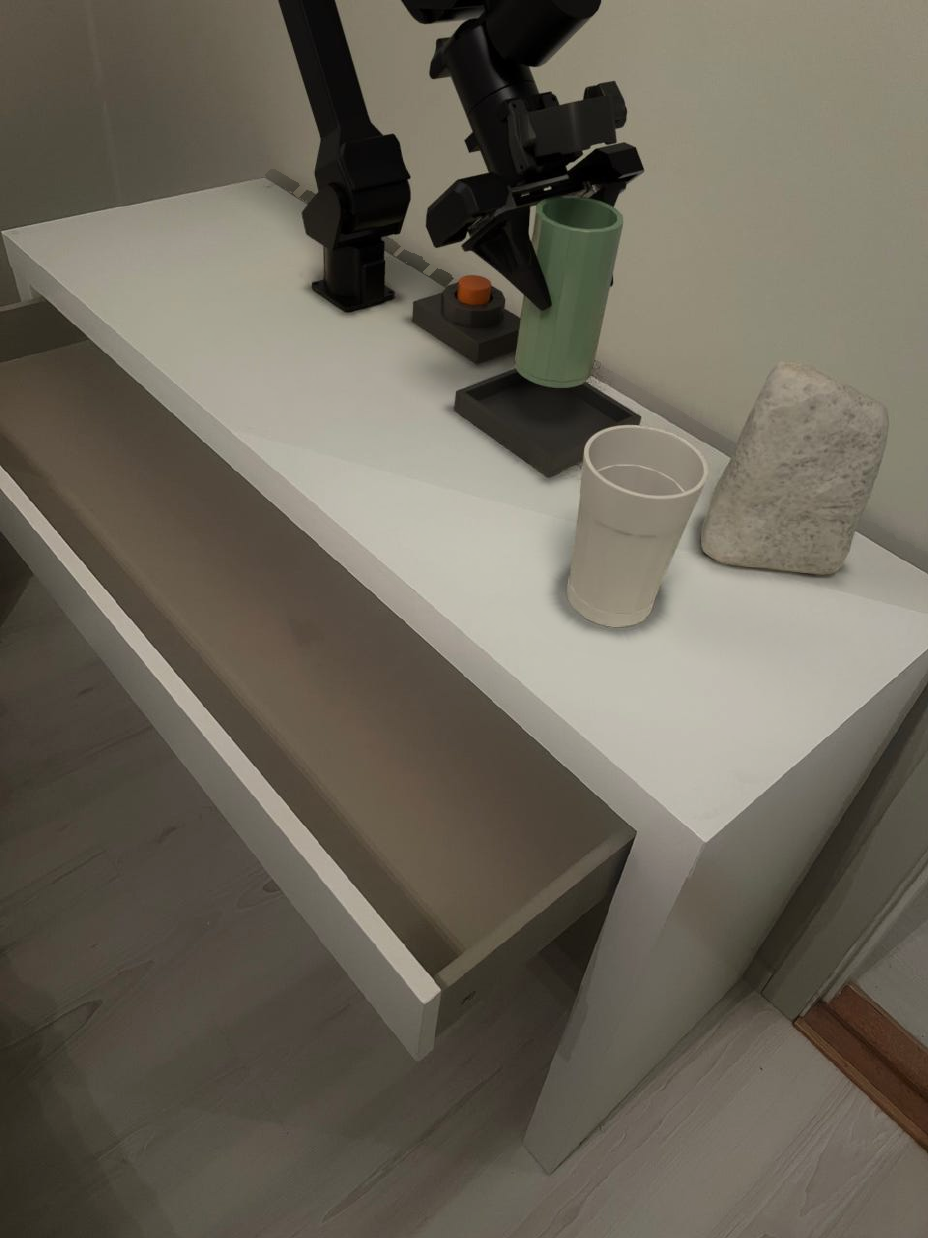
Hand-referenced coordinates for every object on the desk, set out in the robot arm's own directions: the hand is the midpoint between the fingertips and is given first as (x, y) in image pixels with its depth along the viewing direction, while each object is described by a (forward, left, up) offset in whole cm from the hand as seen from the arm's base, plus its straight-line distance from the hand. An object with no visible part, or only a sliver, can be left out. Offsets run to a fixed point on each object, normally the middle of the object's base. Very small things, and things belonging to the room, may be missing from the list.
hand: (578, 298), depth 74 cm
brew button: (-17, +5, -9) cm, 20 cm away
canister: (-1, 0, -7) cm, 7 cm away
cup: (+18, -12, -13) cm, 25 cm away
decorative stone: (+22, +2, -13) cm, 25 cm away
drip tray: (-1, 0, -12) cm, 13 cm away
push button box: (-17, +5, -12) cm, 22 cm away
